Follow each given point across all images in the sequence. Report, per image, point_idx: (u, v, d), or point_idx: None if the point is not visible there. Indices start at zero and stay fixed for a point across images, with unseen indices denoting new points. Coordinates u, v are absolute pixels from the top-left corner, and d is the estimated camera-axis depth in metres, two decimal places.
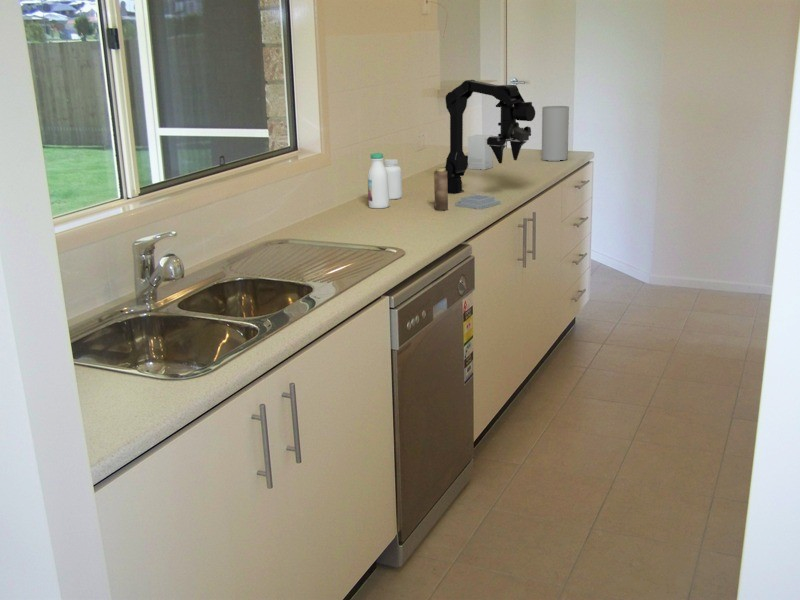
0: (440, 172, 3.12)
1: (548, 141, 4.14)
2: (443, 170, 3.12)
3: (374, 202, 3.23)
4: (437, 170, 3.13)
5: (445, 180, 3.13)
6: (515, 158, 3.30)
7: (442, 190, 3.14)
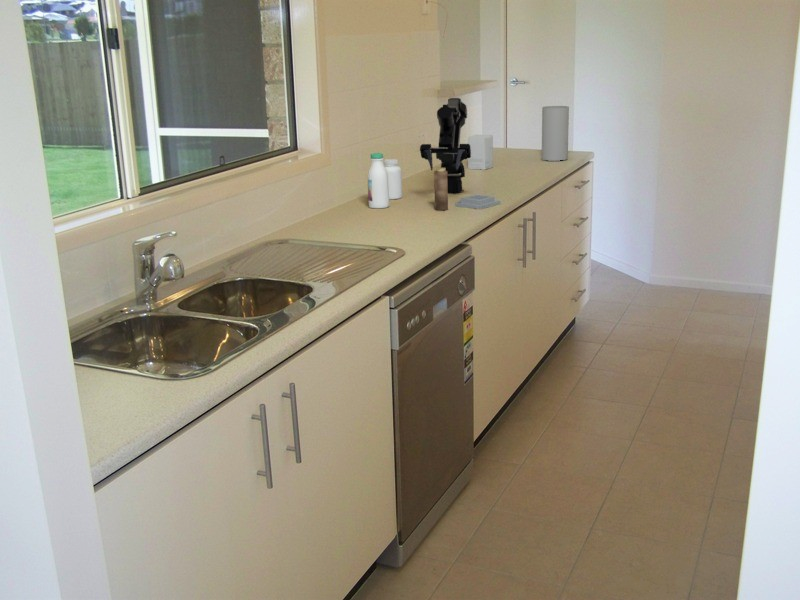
0: (440, 172, 3.12)
1: (548, 141, 4.14)
2: (443, 170, 3.12)
3: (374, 202, 3.23)
4: (437, 170, 3.13)
5: (445, 180, 3.13)
6: (432, 168, 3.23)
7: (442, 190, 3.14)
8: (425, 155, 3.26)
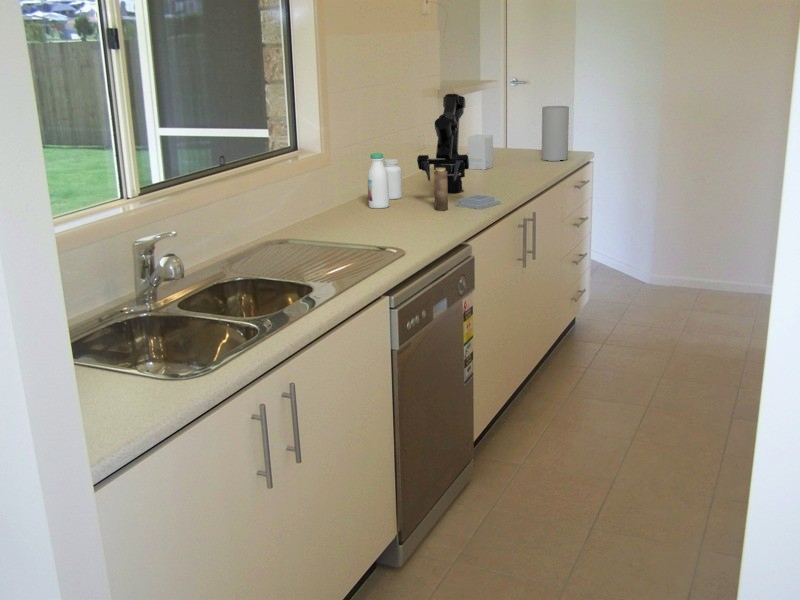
0: (440, 172, 3.12)
1: (548, 141, 4.14)
2: (443, 170, 3.12)
3: (374, 202, 3.23)
4: (437, 170, 3.13)
5: (445, 180, 3.13)
6: (429, 179, 3.18)
7: (442, 190, 3.14)
8: (422, 166, 3.21)
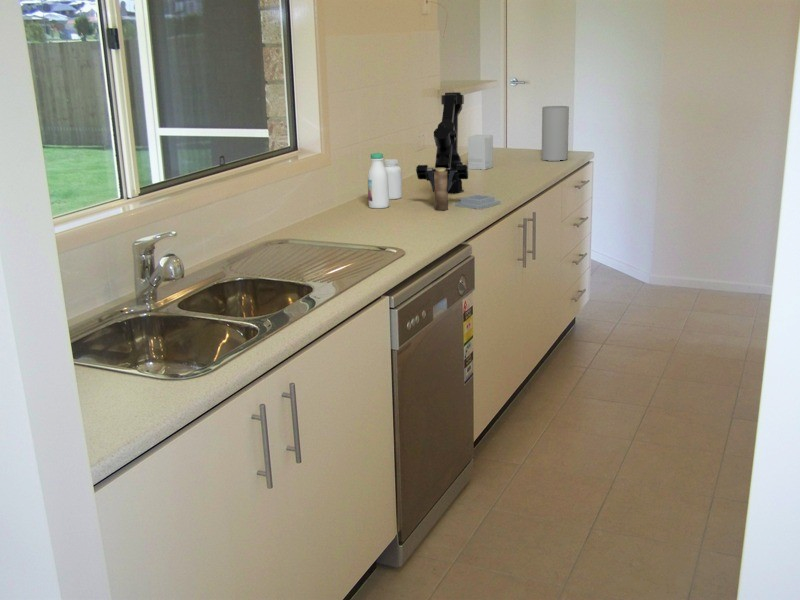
0: (440, 172, 3.12)
1: (548, 141, 4.14)
2: (443, 170, 3.12)
3: (374, 202, 3.23)
4: (437, 170, 3.13)
5: (445, 180, 3.13)
6: None
7: (442, 190, 3.14)
8: (427, 176, 3.19)
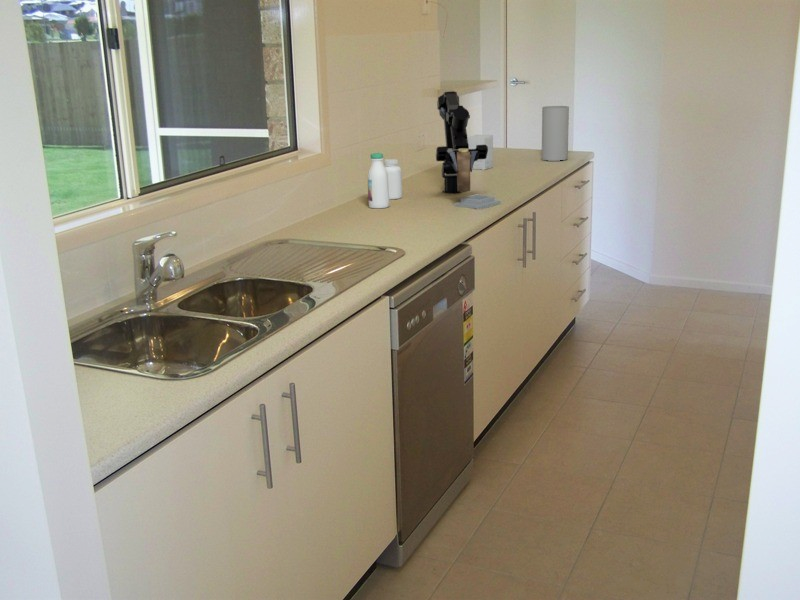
0: (464, 153, 3.13)
1: (548, 141, 4.14)
2: (466, 150, 3.14)
3: (374, 202, 3.23)
4: (461, 151, 3.13)
5: (469, 160, 3.15)
6: None
7: (467, 170, 3.15)
8: (447, 157, 3.18)
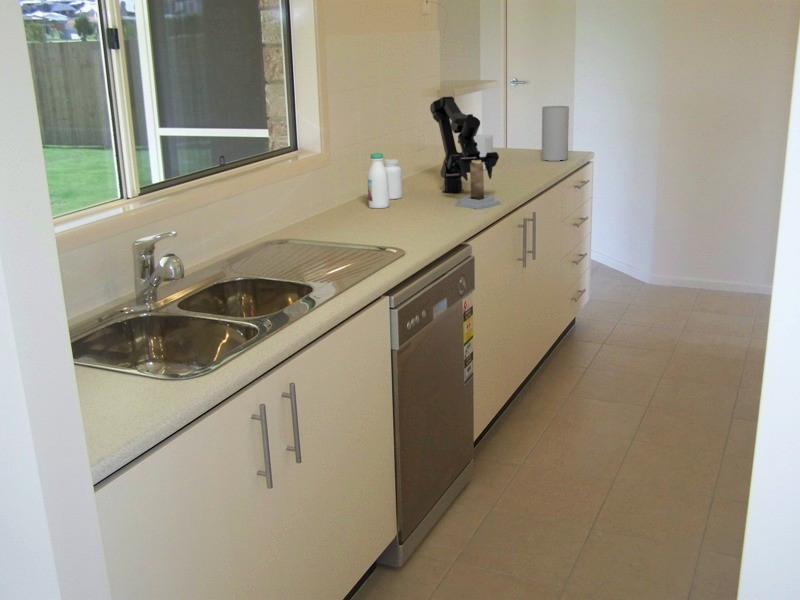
0: (479, 164, 3.18)
1: (548, 141, 4.14)
2: (480, 162, 3.19)
3: (374, 202, 3.23)
4: (475, 162, 3.18)
5: None
6: None
7: (481, 181, 3.20)
8: (455, 166, 3.21)
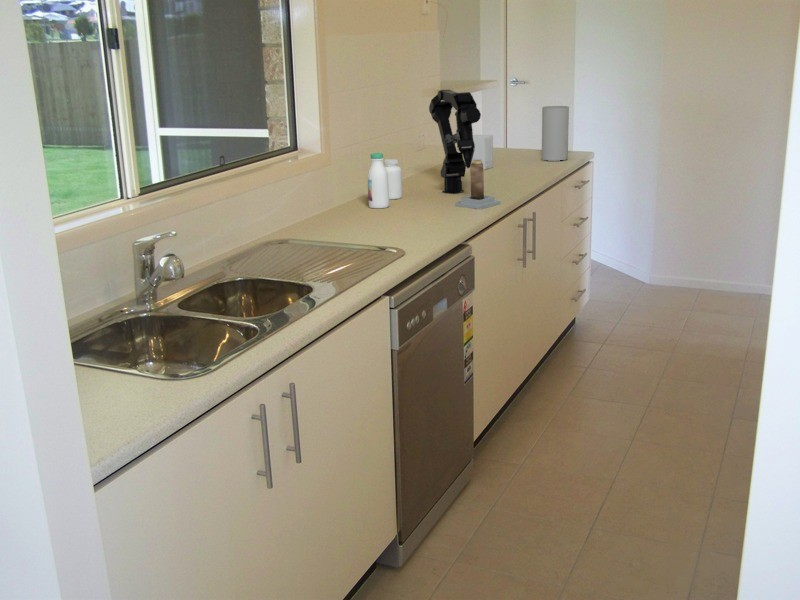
0: (479, 164, 3.18)
1: (548, 141, 4.14)
2: (480, 162, 3.19)
3: (374, 202, 3.23)
4: (475, 163, 3.18)
5: None
6: None
7: (481, 182, 3.20)
8: (465, 149, 3.23)
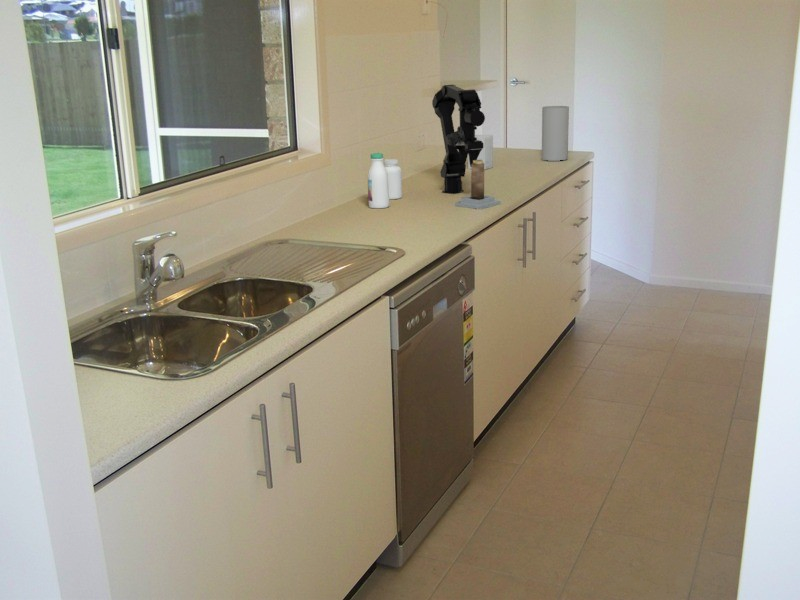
0: (480, 164, 3.18)
1: (548, 141, 4.14)
2: (482, 162, 3.18)
3: (374, 202, 3.23)
4: (477, 163, 3.18)
5: None
6: None
7: (482, 182, 3.20)
8: (474, 150, 3.23)
